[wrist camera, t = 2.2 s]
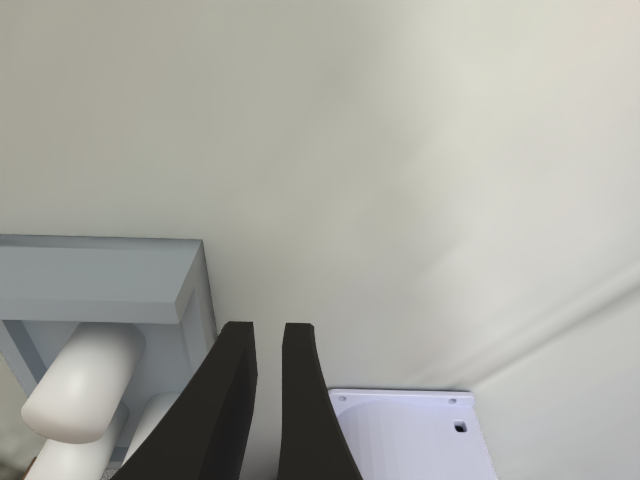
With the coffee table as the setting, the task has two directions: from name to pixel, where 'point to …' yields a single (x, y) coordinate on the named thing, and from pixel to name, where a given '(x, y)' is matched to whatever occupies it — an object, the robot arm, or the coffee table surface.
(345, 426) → the robot arm
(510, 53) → the coffee table surface
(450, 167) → the coffee table surface
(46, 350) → the tray
